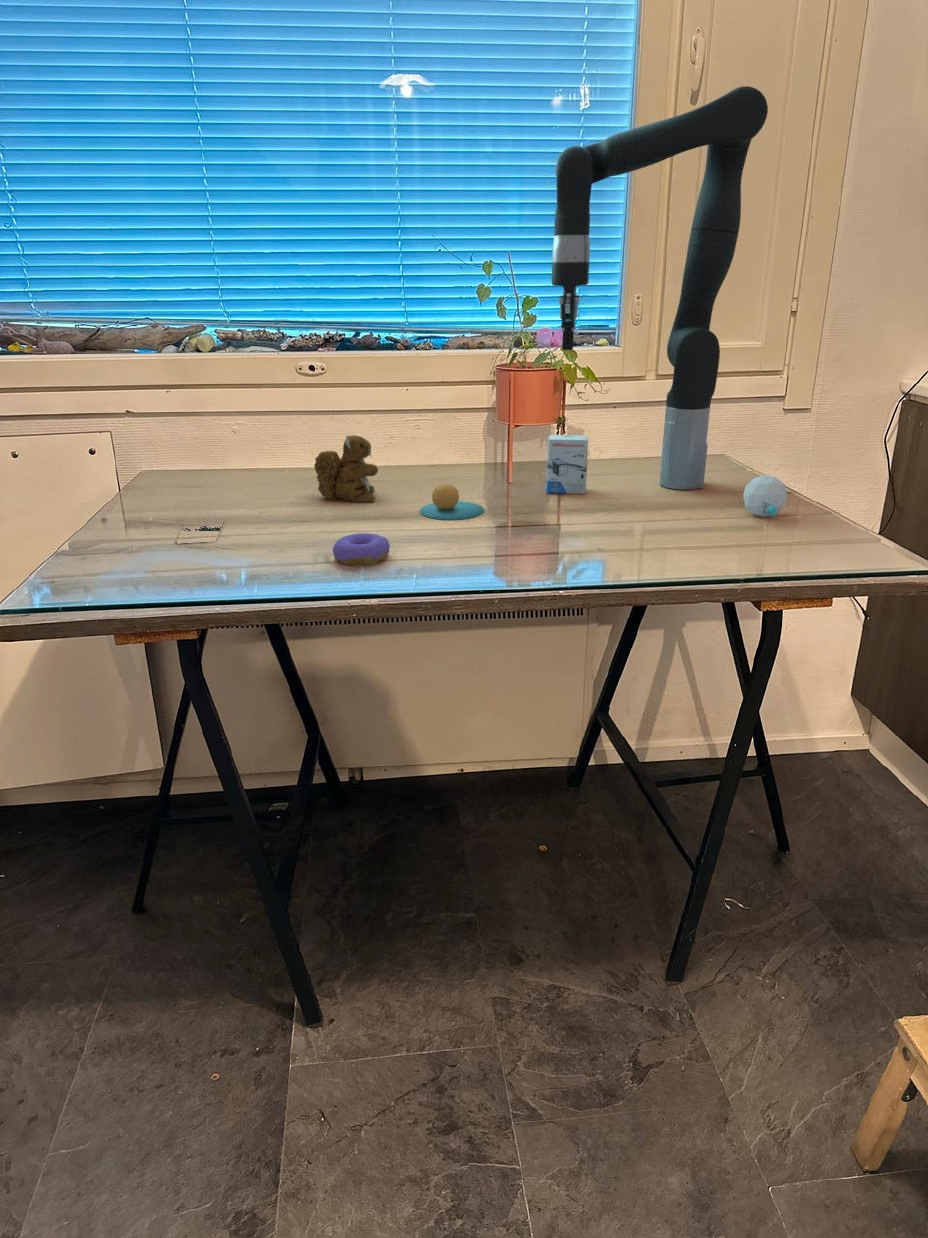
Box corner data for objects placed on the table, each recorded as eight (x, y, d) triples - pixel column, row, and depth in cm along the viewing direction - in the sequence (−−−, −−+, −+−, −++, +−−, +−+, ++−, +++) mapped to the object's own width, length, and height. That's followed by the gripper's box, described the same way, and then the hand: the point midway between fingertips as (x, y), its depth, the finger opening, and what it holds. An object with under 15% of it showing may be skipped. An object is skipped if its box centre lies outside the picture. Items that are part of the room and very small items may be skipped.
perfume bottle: (789, 492, 161) (804, 516, 150) (751, 514, 164) (763, 539, 154) (770, 461, 158) (784, 483, 148) (732, 484, 161) (743, 507, 151)
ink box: (546, 493, 176) (547, 439, 171) (546, 487, 181) (547, 434, 176) (586, 494, 175) (588, 439, 171) (585, 488, 180) (587, 434, 175)
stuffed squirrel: (377, 502, 171) (373, 440, 166) (311, 503, 172) (305, 441, 166) (382, 490, 181) (379, 431, 175) (319, 491, 181) (313, 432, 176)
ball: (437, 505, 169) (462, 506, 167) (429, 513, 164) (455, 514, 162) (435, 479, 166) (461, 479, 165) (427, 486, 162) (453, 487, 160)
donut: (362, 544, 145) (364, 519, 143) (399, 564, 141) (402, 539, 138) (319, 558, 138) (321, 533, 136) (357, 581, 134) (360, 554, 131)
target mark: (488, 503, 170) (488, 502, 170) (478, 521, 158) (478, 520, 158) (427, 501, 172) (427, 500, 172) (413, 518, 160) (413, 517, 160)
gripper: (588, 259, 158) (584, 352, 165) (590, 259, 170) (586, 346, 177) (549, 260, 160) (547, 352, 167) (554, 260, 172) (552, 346, 179)
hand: (567, 349), depth 172 cm, fingers closed
